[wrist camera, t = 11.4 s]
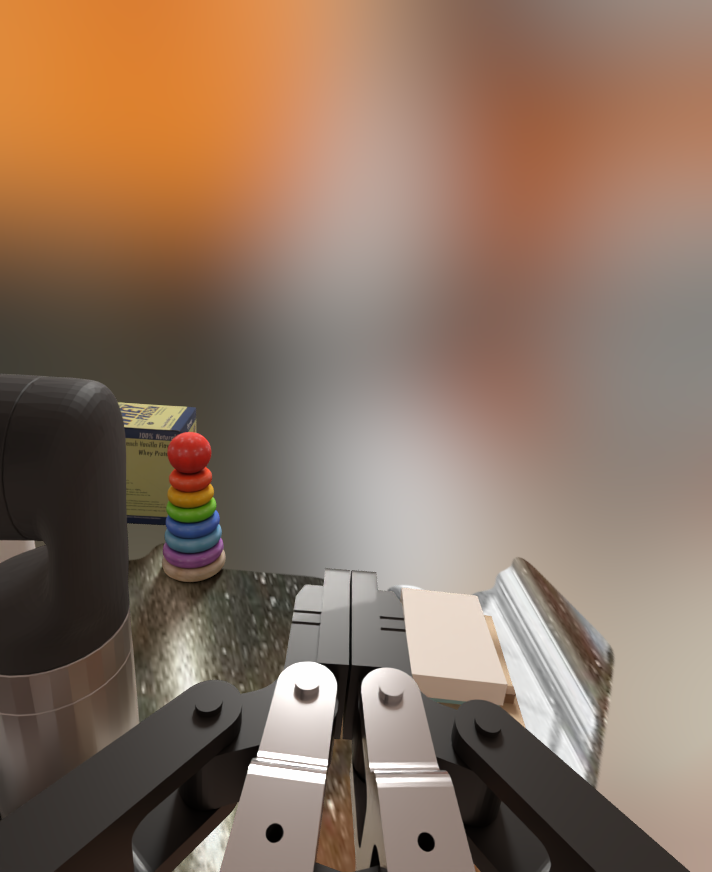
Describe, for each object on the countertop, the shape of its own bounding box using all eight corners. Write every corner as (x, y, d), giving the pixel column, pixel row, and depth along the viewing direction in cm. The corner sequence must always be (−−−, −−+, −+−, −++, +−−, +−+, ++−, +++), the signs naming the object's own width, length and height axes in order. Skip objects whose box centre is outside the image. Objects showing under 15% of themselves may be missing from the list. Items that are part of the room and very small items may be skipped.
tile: (507, 684, 46) (477, 595, 59) (410, 673, 46) (401, 587, 59) (501, 710, 46) (473, 617, 60) (405, 700, 47) (398, 609, 60)
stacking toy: (232, 551, 70) (233, 426, 63) (215, 588, 62) (215, 450, 56) (175, 546, 70) (171, 420, 63) (152, 582, 62) (144, 443, 56)
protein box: (184, 526, 74) (181, 429, 69) (74, 522, 73) (62, 422, 67) (199, 493, 84) (197, 406, 79) (102, 489, 82) (94, 399, 77)
